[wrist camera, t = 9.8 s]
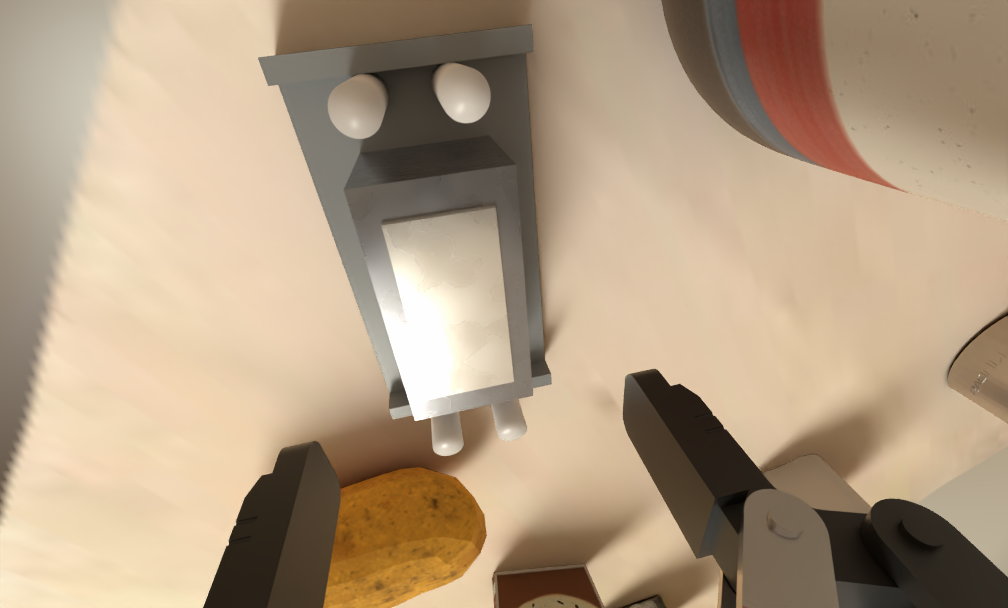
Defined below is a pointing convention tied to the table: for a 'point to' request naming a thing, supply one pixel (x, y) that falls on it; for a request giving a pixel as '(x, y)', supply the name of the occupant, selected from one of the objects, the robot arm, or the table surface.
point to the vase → (862, 87)
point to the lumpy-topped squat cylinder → (816, 485)
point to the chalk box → (650, 603)
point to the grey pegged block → (408, 122)
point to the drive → (447, 269)
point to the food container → (546, 588)
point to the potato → (402, 538)
